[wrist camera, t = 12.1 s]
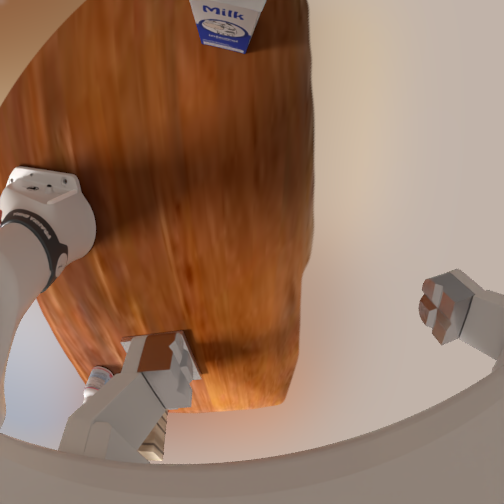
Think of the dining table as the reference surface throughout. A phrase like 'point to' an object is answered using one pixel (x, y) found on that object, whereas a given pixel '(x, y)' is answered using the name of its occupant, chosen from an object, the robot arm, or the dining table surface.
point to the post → (155, 441)
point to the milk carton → (227, 22)
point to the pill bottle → (96, 381)
